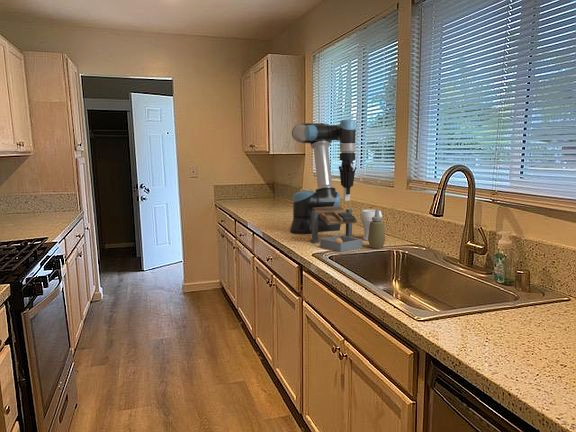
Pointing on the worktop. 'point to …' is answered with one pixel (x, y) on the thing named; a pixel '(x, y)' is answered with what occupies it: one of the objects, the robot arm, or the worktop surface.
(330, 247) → the tray
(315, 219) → the lever stand
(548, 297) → the worktop surface
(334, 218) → the tipping lever
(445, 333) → the worktop surface
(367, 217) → the cup
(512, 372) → the worktop surface
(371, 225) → the squeeze bottle
